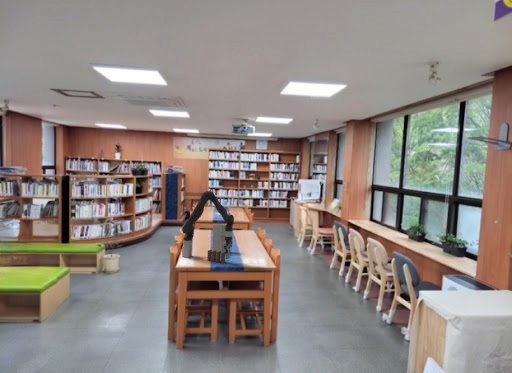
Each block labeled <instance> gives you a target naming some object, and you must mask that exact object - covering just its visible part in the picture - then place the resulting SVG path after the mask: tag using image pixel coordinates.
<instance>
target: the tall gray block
mask: <svg viewBox="0 0 512 373" xmlns="http://www.w3.org/2000/svg"><path fill="white" fill-rule="evenodd" d="M226 225H227V224H212V249H211V250H212V251H214V250H216V254H217V252H218V251H221V253H222V252H225V251H226V250H225V249H224V244H225V243H226V241H225V226H226Z"/></svg>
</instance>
